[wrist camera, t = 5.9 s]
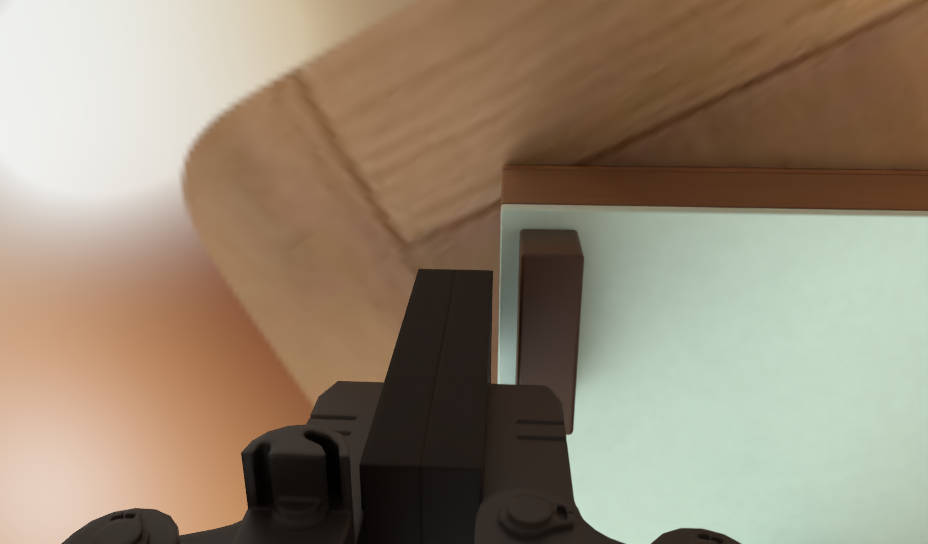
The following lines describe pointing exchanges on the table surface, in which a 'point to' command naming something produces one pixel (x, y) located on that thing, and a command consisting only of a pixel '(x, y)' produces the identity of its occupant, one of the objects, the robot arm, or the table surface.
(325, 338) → the table surface
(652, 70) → the table surface
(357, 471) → the robot arm
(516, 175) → the case
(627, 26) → the table surface
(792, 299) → the pale green cover
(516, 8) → the table surface
